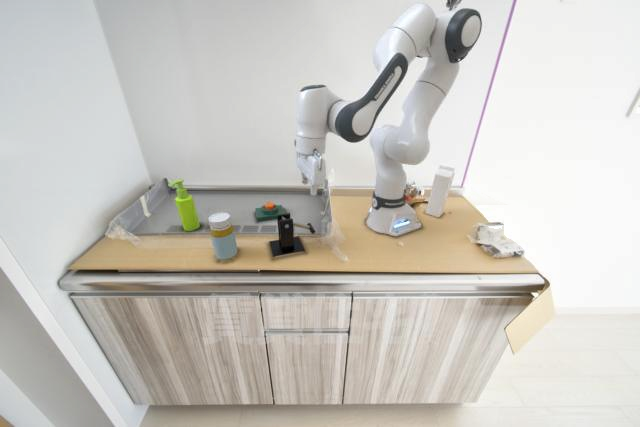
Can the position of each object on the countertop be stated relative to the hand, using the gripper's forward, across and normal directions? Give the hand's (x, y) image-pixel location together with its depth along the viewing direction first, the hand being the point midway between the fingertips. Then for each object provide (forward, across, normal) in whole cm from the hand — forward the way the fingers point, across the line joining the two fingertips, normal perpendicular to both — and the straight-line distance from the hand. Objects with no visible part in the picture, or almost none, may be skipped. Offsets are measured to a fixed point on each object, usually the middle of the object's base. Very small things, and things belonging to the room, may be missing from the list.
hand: (308, 188), depth 78 cm
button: (+19, +25, +10) cm, 33 cm away
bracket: (+22, -1, +7) cm, 23 cm away
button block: (+22, +25, +9) cm, 35 cm away
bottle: (+23, +1, +27) cm, 36 cm away
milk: (+18, +6, -62) cm, 65 cm away
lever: (+14, -1, +4) cm, 15 cm away
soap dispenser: (+24, +24, +41) cm, 54 cm away
